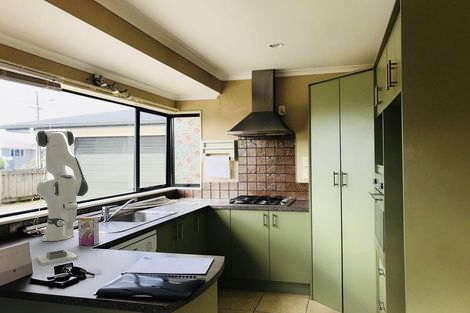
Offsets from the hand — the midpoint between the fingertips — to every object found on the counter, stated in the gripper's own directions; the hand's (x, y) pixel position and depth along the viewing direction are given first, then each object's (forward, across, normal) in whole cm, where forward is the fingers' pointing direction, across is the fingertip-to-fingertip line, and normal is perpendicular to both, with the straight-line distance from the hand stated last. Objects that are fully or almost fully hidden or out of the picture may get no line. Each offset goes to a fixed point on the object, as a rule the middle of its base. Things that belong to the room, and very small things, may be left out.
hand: (68, 228), depth 198 cm
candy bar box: (+13, -7, +13) cm, 20 cm away
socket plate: (+12, +14, -9) cm, 20 cm away
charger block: (+4, 0, 0) cm, 4 cm away
